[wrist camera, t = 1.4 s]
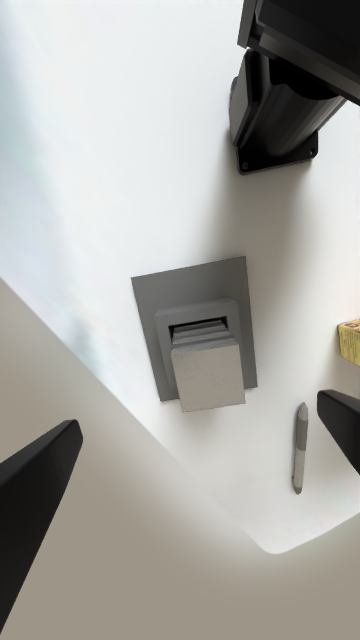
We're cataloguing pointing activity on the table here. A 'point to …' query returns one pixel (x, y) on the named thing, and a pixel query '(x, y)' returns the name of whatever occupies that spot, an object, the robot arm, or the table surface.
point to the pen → (300, 447)
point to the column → (206, 365)
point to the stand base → (194, 313)
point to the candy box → (350, 341)
